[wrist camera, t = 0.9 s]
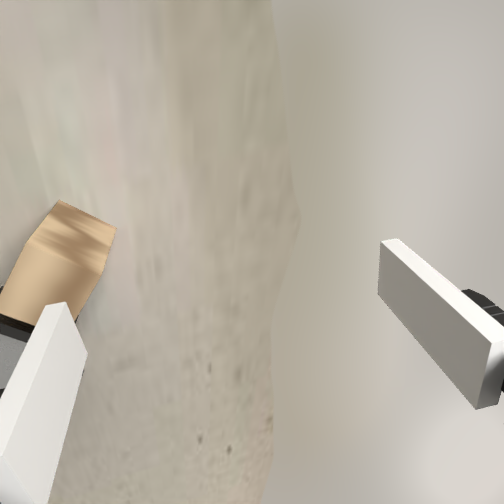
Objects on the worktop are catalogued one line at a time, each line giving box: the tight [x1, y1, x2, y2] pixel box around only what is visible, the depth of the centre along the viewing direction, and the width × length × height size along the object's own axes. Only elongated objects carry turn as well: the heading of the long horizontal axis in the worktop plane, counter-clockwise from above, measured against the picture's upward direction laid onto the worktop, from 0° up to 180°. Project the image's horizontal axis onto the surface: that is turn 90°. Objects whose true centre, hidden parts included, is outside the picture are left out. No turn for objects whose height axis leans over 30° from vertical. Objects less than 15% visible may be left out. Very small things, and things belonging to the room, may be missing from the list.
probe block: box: [0, 200, 117, 326], centre depth 36 cm, size 6×7×10 cm
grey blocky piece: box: [0, 286, 78, 389], centre depth 42 cm, size 11×13×5 cm
